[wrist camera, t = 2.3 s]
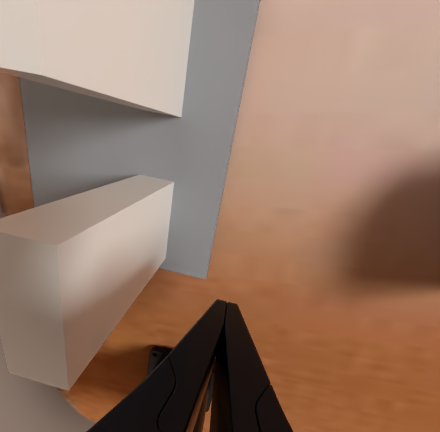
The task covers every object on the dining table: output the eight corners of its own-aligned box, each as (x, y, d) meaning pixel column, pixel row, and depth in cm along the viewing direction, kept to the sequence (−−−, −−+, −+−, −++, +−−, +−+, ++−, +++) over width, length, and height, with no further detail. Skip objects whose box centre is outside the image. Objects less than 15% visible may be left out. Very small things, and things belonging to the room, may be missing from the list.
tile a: (165, 258, 17) (68, 391, 8) (134, 251, 17) (5, 372, 8) (174, 181, 15) (56, 245, 6) (138, 174, 15) (-28, 225, 6)
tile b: (181, 117, 13) (42, 75, 5) (142, 109, 14) (-66, 54, 5) (195, -9, 11) (-10, -538, 2) (149, -16, 12) (-199, -534, 3)
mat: (206, 275, 17) (205, 279, 17) (43, 236, 18) (37, 238, 18) (263, -18, 11) (263, -25, 11) (12, -55, 12) (3, -62, 12)
